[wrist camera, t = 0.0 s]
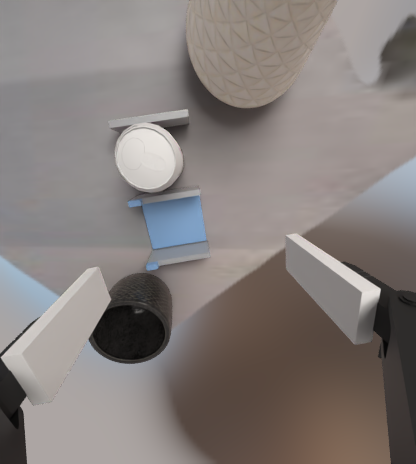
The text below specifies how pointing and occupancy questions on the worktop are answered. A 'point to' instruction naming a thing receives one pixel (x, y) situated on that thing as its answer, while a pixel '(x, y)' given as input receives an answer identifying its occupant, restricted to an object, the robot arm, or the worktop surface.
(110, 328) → the planter
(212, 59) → the vase
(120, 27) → the worktop surface
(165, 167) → the supplement can
